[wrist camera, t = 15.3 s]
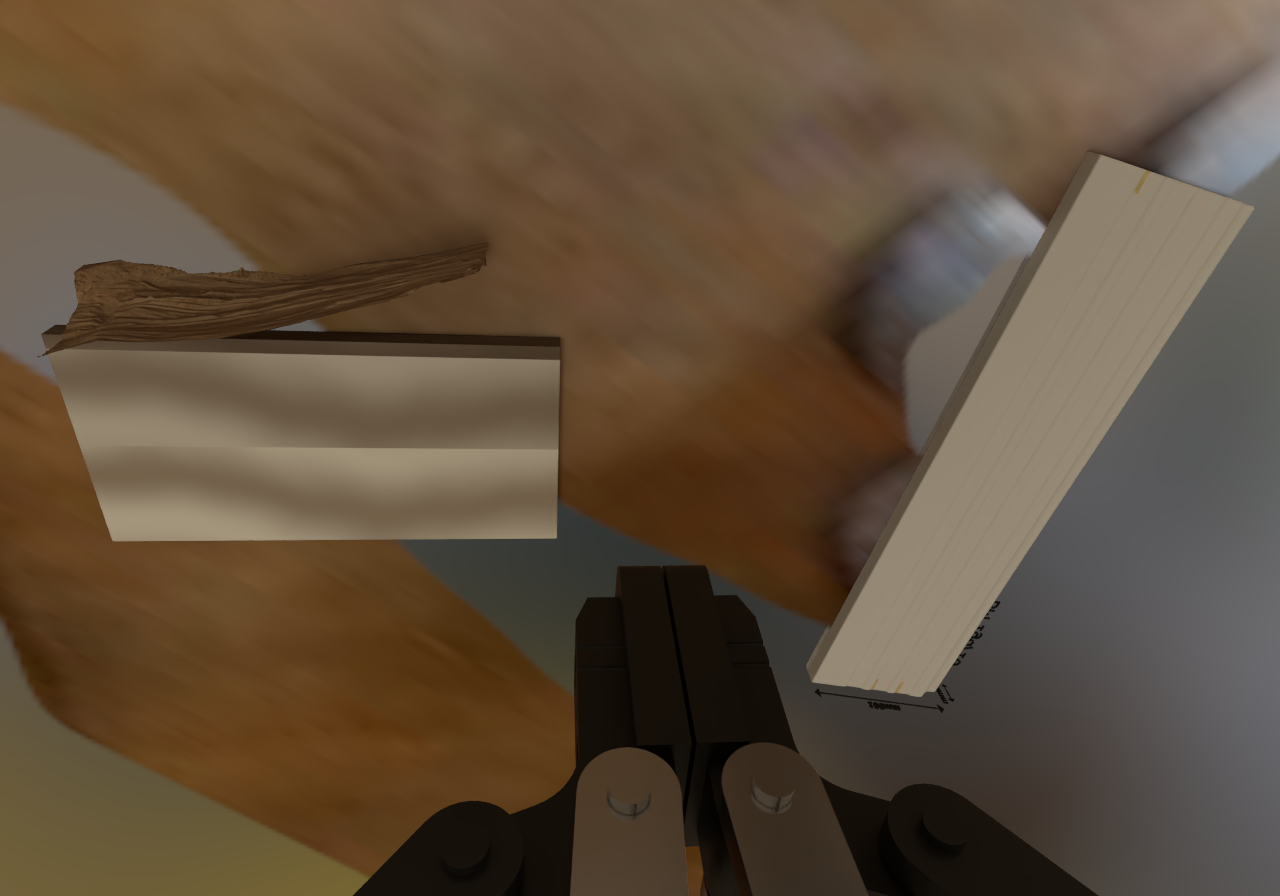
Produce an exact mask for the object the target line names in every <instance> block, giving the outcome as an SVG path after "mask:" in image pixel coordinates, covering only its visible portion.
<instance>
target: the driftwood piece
mask: <svg viewBox="0 0 1280 896" xmlns="http://www.w3.org/2000/svg"><path fill="white" fill-rule="evenodd" d="M487 245H488V243H484V244H483V243H482V244H479V245H472V246H468V247H464V248H459V249H455V250H450V251H446V252H441V253H436V254H430V255H423V256H416V257H412V258H404V259H397V260H387V261H377V262H370V263H362V264H356V265H351V266H347V267H344V268H340V269H337V270H333V271H328V272H325V273H320V274H315V275H309V276H307V275H304V276H302V277H297V276H296V277H295V276H292V275H281V274H277V273H267V272H262V273H261V272H260V271H259V270H258V271H247V270H244V269H243V267H242V268H240V270H237V271H232V272H227V273H221V272H219V273H215V272H210V273H196V274H191V273H189V274H188V273H186V272H185V271H182V270H178V269H176V268H173V267H167V266H159V265H154V264H137V263H130V262H125V261H122V260H116V261H109V262H102V263H96V264H88V265H83V266H82V267H81V268H79V269H78V270H77V271H75V272H74V275H75V288H76V294H77V299H78V302H79V303H78V306H77V309H76V310H75V312H74V313H73V314H72V316H71V318H70V320H69V323H68V324H67V326H66V330H65V331H64V333H63V334H62V341H60V342H58V343H57V344H56V345H55V346H53V348H51V349H50V350H47V351H46V353H45V354H43V356H44V355H47V354H50V353H53V352H57V351H62V350H64V349H66V348H70V347H75V346H78V345H82V344H86V343H91V342H95V341H117V342H161V341H180V340H202V339H216V338H223V337H229V336H235V335H241V334H248V333H254V332H259V331H265V330H271V329H275V328H279V327H283V326H288V325H292V324H296V323H301V322H303V321H306V320H310V319H314V318H318V317H322V316H326V315H330V314H334V313H338V312H342V311H346V310H350V309H355V308H359V307H363V306H368V305H373V304H378V303H382V302H386V301H388V300H391V299H394V298H398V297H403V296H408V295H412V294H413V293H414V291H415V290H416V289H418V288H420V287H422V286H425V285H429V284H433V283H437V282H447V281H451V280H455V279H458V278H463V277H465V276H467V275H470V274H474V273H476V272H478V271H479V270H480V268H481V265H483V266H486V258H485V252H486V251H487ZM38 357H39V356H38Z"/></svg>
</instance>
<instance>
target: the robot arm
mask: <svg viewBox="0 0 1280 896" xmlns="http://www.w3.org/2000/svg"><path fill="white" fill-rule="evenodd" d="M575 631H576V632H575V666H574V667H575V668H574V705H575V753H576V768H575V770H574V773H573V775H572V776H571V778H570V779H569V781H568V782H567V783H566V785H565V786H564V787H563V788H562V789H561V790H560V791H559V792H557V793H556V794H555V795H554V796H552V797H551V798H549V799H548V800H546V801H544V802H542V803H539V804H537V805H535V806H532V807H529V808H527V809H524V810H521V811H519V812H516V813H513V814H511V815H510V814H508V813H507V812H506V811H505V810H503V809H502V808H500V807H498V806H496V805H493V804H491V803H487V802H482V801H466V802H460V803H456V804H453V805H450V806H448V807H446V808H444V809H442V810H440V811H438V812H437V813H435V814H434V815H432V816H431V817H430V818H429V819H428V820H427V821H426V822H425V823H424V824H423V825H422V826H421V827H420V828H419V829H418V830H417V831H416V832H415V833H414V834H413V835H412V836H411V837H410V838H409V839H408V840H407V841H406V842H405V843H404V844H403V845H402V846H401V847H400V848H399V849H398V850H397V851H396V852H395V853H394V854H393V855H392V856H391V857H390V858H389V859H388V860H387V861H386V862H385V863H384V864H383V865H382V866H381V867H380V869H379V870H378V871H377V872H376V873H375V874H374V875H373V876H372V877H371V878H370V879H369V880H368V881H367V882H366V883H365V884H364V885H363V886H362V887H361V888H360V889H359V890H358V891H357V892H356V893H355V894H354V895H353V896H688V882H687V867H686V853H685V847H688V846H699V847H700V853H701V860H702V866H703V872H704V873H703V879H702V884H701V892H700V896H1098V895H1096V894H1095V893H1094V892H1093V891H1091V890H1090V889H1089V888H1087V887H1086V886H1085V885H1083V884H1082V883H1080V882H1079V881H1078V880H1076V879H1075V878H1074V877H1072V876H1071V875H1069V874H1068V873H1067V872H1065V871H1064V870H1063V869H1061V868H1060V867H1058V866H1057V865H1056V864H1054V863H1053V862H1052V861H1050V860H1049V859H1048V858H1046V857H1045V856H1044V855H1042V854H1041V853H1040V852H1038V851H1037V850H1035V849H1034V848H1033V847H1031V846H1030V845H1029V844H1027V843H1026V842H1024V841H1023V840H1022V839H1020V838H1019V837H1018V836H1016V835H1015V834H1014V833H1012V832H1011V831H1010V830H1008V829H1007V828H1005V827H1004V826H1003V825H1001V824H1000V823H999V822H997V821H996V820H995V819H993V818H992V817H990V816H989V815H988V814H986V813H985V812H984V811H982V810H981V809H979V808H978V807H977V806H975V805H974V804H973V803H971V802H970V801H969V800H967V799H966V798H964V797H963V796H961V795H959V794H958V793H956V792H954V791H952V790H950V789H947V788H944V787H941V786H937V785H933V784H914V785H911V786H907V787H905V788H903V789H902V790H900V791H899V792H898V793H897V794H895V796H894V797H893V799H892V800H891V802H890V801H886V800H883V799H879V798H875V797H872V796H868V795H864V794H860V793H856V792H853V791H849V790H846V789H843V788H840V787H838V786H836V785H834V784H832V783H830V782H828V781H827V780H825V779H823V778H822V777H820V776H819V775H818V773H817V772H816V770H815V769H814V767H813V766H812V765H811V764H810V763H809V762H808V761H807V760H806V759H805V758H804V757H802V756H801V755H800V754H799V752H798V750H797V748H796V746H795V743H794V740H793V737H792V734H791V731H790V727H789V724H788V721H787V718H786V714H785V712H784V708H783V705H782V702H781V698H780V695H779V692H778V688H777V685H776V682H775V679H774V675H773V672H772V669H771V667H769V659H768V656H767V653H766V650H765V647H764V646H763V640H762V637H761V633H760V630H759V627H758V624H757V620H756V617H755V616H754V615H753V613H752V612H751V611H750V610H749V609H748V608H747V607H746V605H745V604H744V603H743V602H742V601H741V600H740V599H739V597H738V596H737V595H723V596H721V595H720V596H714V594H713V591H712V586H711V583H710V578H709V574H708V570H707V568H706V566H705V565H680V566H662V569H661V567H660V566H619V567H618V568H617V575H616V592H615V597H594V598H587V600H586V602H585V604H584V606H583V607H582V609H581V611H580V613H579V615H578V617H577V619H576V630H575Z"/></svg>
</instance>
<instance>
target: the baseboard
mask: <svg viewBox="0 0 1280 896" xmlns="http://www.w3.org/2000/svg"><path fill="white" fill-rule="evenodd" d="M1254 208H1255V207H1252V206H1250V205H1247V204H1244V203H1242V202H1239V201H1236V200H1233V199H1230V198H1227V197H1224V196H1221V195H1218V194H1215V193H1212V192H1209V191H1207V190H1204V189H1201V188H1198V187H1195V186H1192V185H1189V184H1186V183H1183V182H1180V181H1177V180H1174V179H1171V178H1168V177H1165V176H1162V175H1159V174H1156V173H1153V172H1150V171H1147V170H1145V169H1142V168H1139V167H1136V166H1133V165H1130V164H1127V163H1124V162H1121V161H1118V160H1115V159H1112V158H1109V157H1106V156H1103V155H1100V154H1097V153H1093V152H1090V151H1088V152H1087V154H1086V156H1085V157H1084V159H1083V161H1082V163H1081V165H1080V167H1079V169H1078V170H1077V172H1076V174H1075V176H1074V178H1073V180H1072V182H1071V183H1070V185H1069V187H1068V189H1067V191H1066V193H1065V195H1064V196H1063V198H1062V200H1061V202H1060V204H1059V206H1058V207H1057V209H1056V211H1055V213H1054V215H1053V217H1052V219H1051V220H1050V222H1049V224H1048V226H1047V228H1046V230H1045V232H1044V233H1043V235H1042V237H1041V239H1040V241H1039V243H1038V245H1037V246H1036V248H1035V250H1034V252H1033V254H1032V255H1029V254H1026V256H1025V257H1024V259H1023V261H1022V263H1021V265H1020V267H1019V269H1018V271H1017V273H1016V274H1015V276H1014V278H1013V280H1012V282H1011V284H1010V285H1009V287H1008V289H1007V291H1006V293H1005V295H1004V297H1003V299H1002V300H1001V302H1000V304H999V306H998V308H997V310H996V312H995V314H994V315H993V317H992V319H991V321H990V323H989V325H988V327H987V328H986V330H985V332H984V334H983V336H982V338H981V340H980V341H979V343H978V345H977V347H976V349H975V351H974V353H973V355H972V356H971V358H970V360H969V362H968V364H967V366H966V368H965V370H964V371H963V373H962V375H961V377H960V379H959V381H958V383H957V385H956V386H955V388H954V390H953V392H952V394H951V396H950V397H949V399H948V401H947V403H946V405H945V407H944V409H943V411H942V412H941V414H940V416H939V418H938V420H937V422H936V424H935V425H934V427H933V429H932V431H931V433H930V435H929V437H928V439H927V440H926V442H925V444H924V446H923V448H922V450H921V452H920V453H919V455H920V456H921V457H922V460H921V462H920V464H919V465H918V467H917V469H916V471H915V473H914V475H913V477H912V478H911V480H910V482H909V484H908V486H907V488H906V489H905V491H904V493H903V495H902V497H901V499H900V501H899V502H898V504H897V506H896V508H895V510H894V512H893V514H892V515H891V517H890V519H889V521H888V523H887V525H886V527H885V528H884V530H883V532H882V534H881V536H880V538H879V540H878V541H877V543H876V545H875V547H874V549H873V551H872V553H871V554H870V556H869V558H868V560H867V562H866V564H865V566H864V567H863V569H862V571H861V573H860V575H859V577H858V579H857V580H856V582H855V584H854V586H853V588H852V590H851V592H850V593H849V595H848V597H847V599H846V601H845V603H844V605H843V606H842V608H841V610H840V612H839V614H838V616H837V618H836V619H835V621H834V623H833V625H832V627H831V628H830V627H826V629H825V631H824V633H823V635H822V636H821V638H820V640H819V642H818V644H817V646H816V648H815V649H814V651H813V653H812V655H811V657H810V659H809V661H808V663H807V664H806V667H807V670H808V672H809V675H810V678H811V680H812V682H816V683H823V684H831V685H837V686H844V687H845V686H852V687H859V688H862V689H866V690H870V689H874V690H882V691H886V692H889V693H894V692H897V693H903V694H909V695H910V696H917V697H922V695H923V694H924V693H925V692H927V691H931V692H935V691H936V689H937V692H938V694H939V696H941V697H940V698H941V700H942V701H943V703H946V704H948V702H944V701H947V700H944V699H945V698H944V695H940V694H943V693H940V692H941V690H940V688H939V687H938V686H939V684H940V683H941V681H942V680H943V678H944V677H945V675H946V674H947V672H948V671H949V669H950V668H951V666H952V665H953V666H957V665H959V664H960V663H961V661H960V660H959V659H957V657H958V656H961V658H964V656H965V655H966V653H964V654H960V653H961V651H962V650H965V649H973V647H965V646H972V644H974V640H973V639H979V638H981V637H982V633H980V635H979V633H978V632H976V631H975V630H976V629H980V631H982V630H983V628H984V627H985V626H984V625H983V626H982V627H978V625H979V624H980V622H981V621H982V619H988V620H989V619H990V617H985V616H986V615H989V614H988V613H987V612H988V611H990V612H995V610H992V609H995V608H997V607H998V606H999V604H1000V601H995V600H996V598H997V597H998V595H999V594H1000V592H1001V591H1002V589H1003V588H1004V586H1005V585H1006V583H1007V582H1008V580H1009V579H1010V577H1011V576H1012V574H1013V573H1014V571H1015V570H1016V568H1017V566H1018V565H1019V563H1020V562H1021V560H1022V559H1023V557H1024V556H1025V554H1026V553H1027V551H1028V550H1029V548H1030V547H1031V545H1032V544H1033V542H1034V541H1035V539H1036V538H1037V536H1038V535H1039V533H1040V532H1041V530H1042V529H1043V527H1044V526H1045V524H1046V523H1047V521H1048V520H1049V518H1050V516H1051V515H1052V513H1053V512H1054V510H1055V509H1056V508H1057V506H1058V505H1059V503H1060V501H1061V500H1062V498H1063V497H1064V495H1065V494H1066V492H1067V491H1068V489H1069V488H1070V486H1071V485H1072V483H1073V482H1074V480H1075V479H1076V477H1077V476H1078V474H1079V473H1080V471H1081V470H1082V468H1083V467H1084V465H1085V464H1086V462H1087V461H1088V459H1089V458H1090V456H1091V455H1092V453H1093V452H1094V450H1095V449H1096V447H1097V446H1098V444H1099V442H1100V441H1101V440H1102V438H1103V437H1104V435H1105V433H1106V432H1107V430H1108V429H1109V427H1110V426H1111V424H1112V423H1113V421H1114V420H1115V418H1116V417H1117V415H1118V414H1119V412H1120V411H1121V409H1122V408H1123V406H1124V405H1125V403H1126V402H1127V400H1128V399H1129V397H1130V396H1131V394H1132V393H1133V391H1134V389H1135V388H1136V387H1137V385H1138V383H1139V382H1140V380H1141V379H1142V377H1143V376H1144V375H1145V373H1146V371H1147V370H1148V368H1149V367H1150V365H1151V364H1152V362H1153V361H1154V359H1155V358H1156V356H1157V355H1158V353H1159V352H1160V350H1161V348H1162V347H1163V346H1164V344H1165V343H1166V341H1167V340H1168V338H1169V337H1170V335H1171V334H1172V332H1173V330H1174V329H1175V328H1176V326H1177V325H1178V323H1179V322H1180V320H1181V319H1182V317H1183V315H1184V314H1185V312H1186V311H1187V309H1188V308H1189V306H1190V305H1191V303H1192V302H1193V300H1194V299H1195V297H1196V296H1197V294H1198V293H1199V291H1200V290H1201V288H1202V287H1203V285H1204V283H1205V282H1206V281H1207V279H1208V278H1209V276H1210V275H1211V273H1212V272H1213V270H1214V269H1215V267H1216V266H1217V264H1218V263H1219V261H1220V260H1221V258H1222V257H1223V255H1224V254H1225V252H1226V250H1227V249H1228V248H1229V246H1230V244H1231V243H1232V241H1233V240H1234V238H1235V237H1236V235H1237V234H1238V232H1239V230H1240V229H1241V228H1242V226H1243V225H1244V223H1245V222H1246V220H1247V219H1248V217H1249V216H1250V214H1251V213H1252V211H1253V210H1254ZM993 603H997V604H996V606H994V607H993V606H992V605H993ZM990 608H991V609H990ZM973 633H975V634H976V636H974V637H973V636H972V635H973ZM978 635H979V636H978ZM970 638H972V639H970ZM968 641H972V642H971V643H970V644H967V642H968ZM955 661H959V662H958V663H954V662H955ZM942 686H943V687H944V688H945V687H947V686H945V685H944V684H943V685H942ZM945 690H946V688H945ZM946 692H947V690H946ZM815 693H816V694H818V695H819V696H820V697H821V694H820V693H822V694H830V695H838V694H831V693H823V692H819V689H817V690H816V691H815ZM947 693H948V692H947ZM948 695H949V693H948ZM838 696H844V697H853V696H845V695H838ZM949 697H950V695H949ZM853 698H860V697H853ZM860 699H867V698H860ZM867 700H875V699H867ZM949 700H951V701H952V702H953V701H954V699H951V697H950V698H949ZM875 701H882V702H889V703H897V702H890V701H883V700H875ZM868 703H869V704H870V706H869V707H871V708H873V706H874V707H875V708H876V709H879V707H880V709H882V710H884V709H892V708H893V709H894V710H899V711H900V710H901V708H900V707H899V705H898V706H896V705H891V704H889V705H888V704H882V703H879V705H878V703H876V702H874V703H873V706H872V702H869V701H868ZM897 704H904V705H912V704H905V703H897ZM889 706H890V707H889ZM894 706H895V707H894ZM912 706H919V707H926V708H934V709H940V711H941V713H942V712H943V710H944V709H943V708H942V707H940V706H939V705H937V706H938V707H939V708H935V707H927V706H920V705H912ZM897 707H898V708H897Z"/></svg>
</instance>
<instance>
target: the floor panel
mask: <svg viewBox="0 0 1280 896" xmlns="http://www.w3.org/2000/svg"><path fill="white" fill-rule="evenodd" d="M66 326H67V325H54V326H53V327H52V328H50V329H49V330H47V331H45V332H44V333H42V338H43V341H44V344H45V346H46V350H50V349H51V348H53V346H55V345H56V344H57V343H58V342H60V341H62V334H63V333H64V331H65V330H66ZM48 355H49V358H50V361H51V364H52V367H53V370H54V373H55V376H56V379H57V381H58V384H59V387H60V390H61V393H62V396H63V399H64V402H65V405H66V407H67V410H68V413H69V416H70V419H71V422H72V425H73V428H74V431H75V433H76V436H77V439H78V442H79V445H80V448H81V451H82V454H83V457H84V459H85V462H86V465H87V468H88V471H89V474H90V477H91V480H92V483H93V485H94V488H95V491H96V494H97V497H98V500H99V503H100V506H101V509H102V511H103V514H104V517H105V520H106V523H107V526H108V529H109V532H110V535H111V538H112V540H113V541H209V540H365V539H512V538H513V539H515V538H516V539H517V538H518V539H520V538H557V496H558V441H559V387H560V338H547V337H508V336H470V335H431V334H392V333H353V332H313V331H312V332H311V331H275V330H273V331H272V330H265V331H259V332H254V333H248V334H241V335H235V336H229V337H223V338H216V339H202V340H180V341H161V342H117V341H95V342H91V343H86V344H82V345H78V346H75V347H70V348H66V349H64V350H62V351H57V352H53V353H50V354H48Z"/></svg>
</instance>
